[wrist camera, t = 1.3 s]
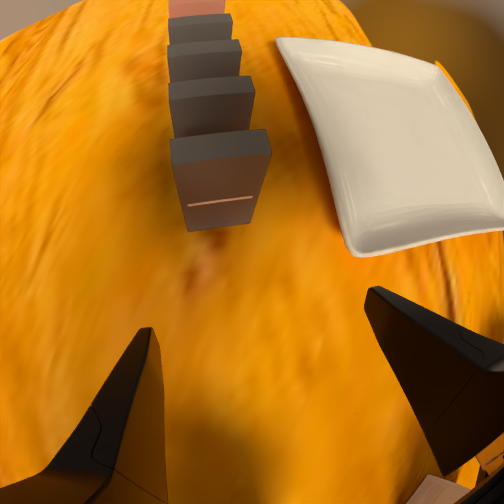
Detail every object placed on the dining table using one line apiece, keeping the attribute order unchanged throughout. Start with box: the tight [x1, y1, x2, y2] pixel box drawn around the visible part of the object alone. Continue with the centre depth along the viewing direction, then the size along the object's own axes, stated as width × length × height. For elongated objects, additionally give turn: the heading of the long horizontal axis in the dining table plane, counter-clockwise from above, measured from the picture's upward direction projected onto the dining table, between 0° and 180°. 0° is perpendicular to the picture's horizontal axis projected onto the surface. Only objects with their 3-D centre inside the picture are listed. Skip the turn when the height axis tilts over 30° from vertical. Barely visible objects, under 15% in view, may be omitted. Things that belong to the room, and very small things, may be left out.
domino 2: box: [168, 13, 233, 45], centre depth 22 cm, size 2×5×10 cm, turn 101°
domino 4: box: [168, 76, 255, 139], centre depth 20 cm, size 2×5×10 cm, turn 101°
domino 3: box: [167, 39, 242, 83], centre depth 21 cm, size 2×5×10 cm, turn 101°
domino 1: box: [169, 0, 225, 18], centre depth 23 cm, size 2×5×10 cm, turn 101°
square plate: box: [275, 37, 504, 258], centre depth 28 cm, size 27×27×4 cm
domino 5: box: [170, 129, 272, 232], centre depth 19 cm, size 2×5×10 cm, turn 101°
